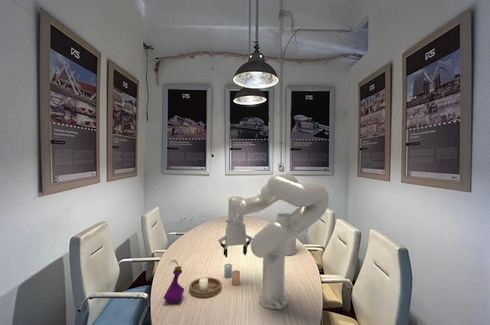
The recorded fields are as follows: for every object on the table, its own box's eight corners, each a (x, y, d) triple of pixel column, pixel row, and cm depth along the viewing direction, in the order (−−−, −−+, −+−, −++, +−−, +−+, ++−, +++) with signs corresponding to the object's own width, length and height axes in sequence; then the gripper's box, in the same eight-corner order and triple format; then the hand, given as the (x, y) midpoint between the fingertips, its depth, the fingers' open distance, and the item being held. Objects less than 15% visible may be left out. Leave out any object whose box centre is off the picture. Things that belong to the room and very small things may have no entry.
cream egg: (208, 293, 118) (208, 280, 118) (199, 295, 117) (199, 281, 117) (207, 289, 122) (207, 276, 122) (198, 290, 121) (198, 278, 121)
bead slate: (232, 277, 136) (232, 266, 136) (225, 278, 134) (225, 267, 134) (230, 274, 139) (230, 263, 139) (223, 275, 138) (223, 264, 138)
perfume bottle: (184, 295, 118) (184, 256, 117) (181, 305, 110) (180, 263, 110) (168, 296, 117) (167, 257, 117) (163, 305, 110) (163, 263, 110)
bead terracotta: (240, 285, 128) (240, 273, 127) (233, 286, 126) (233, 274, 126) (238, 281, 131) (238, 269, 131) (231, 282, 130) (231, 270, 130)
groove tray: (223, 295, 118) (223, 290, 118) (190, 300, 114) (190, 295, 114) (218, 280, 132) (218, 275, 132) (188, 284, 128) (188, 279, 128)
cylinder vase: (295, 256, 164) (295, 217, 164) (276, 255, 167) (276, 217, 166) (295, 249, 177) (296, 213, 176) (277, 248, 179) (277, 213, 179)
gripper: (220, 224, 122) (219, 260, 123) (254, 222, 127) (253, 256, 128) (217, 220, 130) (217, 254, 130) (249, 218, 134) (249, 251, 135)
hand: (235, 255), depth 129 cm, fingers open, 9 cm apart
